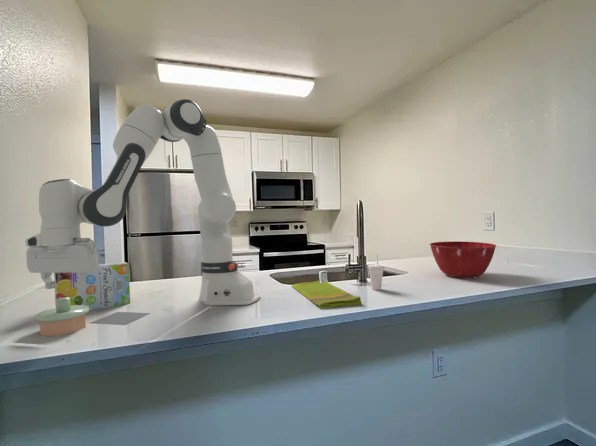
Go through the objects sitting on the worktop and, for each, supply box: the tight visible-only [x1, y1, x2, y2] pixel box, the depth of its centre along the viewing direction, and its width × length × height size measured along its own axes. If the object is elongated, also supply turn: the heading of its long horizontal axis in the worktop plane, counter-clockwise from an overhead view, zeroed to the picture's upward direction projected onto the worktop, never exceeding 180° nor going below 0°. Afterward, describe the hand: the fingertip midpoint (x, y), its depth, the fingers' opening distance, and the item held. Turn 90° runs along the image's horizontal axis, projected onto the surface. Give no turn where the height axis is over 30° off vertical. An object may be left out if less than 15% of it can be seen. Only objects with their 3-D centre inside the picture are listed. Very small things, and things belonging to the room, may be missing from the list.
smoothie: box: [367, 254, 385, 291], centre depth 133 cm, size 6×6×14 cm
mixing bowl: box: [429, 240, 497, 279], centre depth 157 cm, size 28×28×15 cm
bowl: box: [39, 314, 87, 337], centre depth 91 cm, size 10×10×4 cm
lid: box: [35, 297, 90, 323], centre depth 91 cm, size 12×12×4 cm
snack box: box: [53, 261, 131, 311], centre depth 112 cm, size 21×6×15 cm, turn 129°
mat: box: [89, 311, 151, 326], centre depth 100 cm, size 12×11×1 cm
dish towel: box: [291, 280, 362, 309], centre depth 126 cm, size 15×36×3 cm, turn 16°
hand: (64, 288), depth 91 cm, fingers open, 8 cm apart
